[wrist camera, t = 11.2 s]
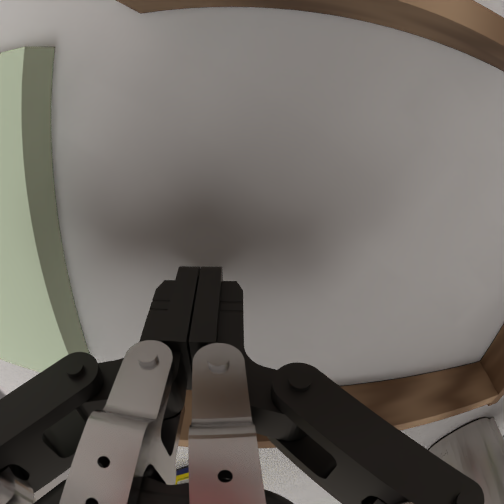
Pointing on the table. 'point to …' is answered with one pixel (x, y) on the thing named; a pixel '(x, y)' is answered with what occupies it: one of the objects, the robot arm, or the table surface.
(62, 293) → the cover plate
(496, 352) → the open wooden frame
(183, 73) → the table surface
